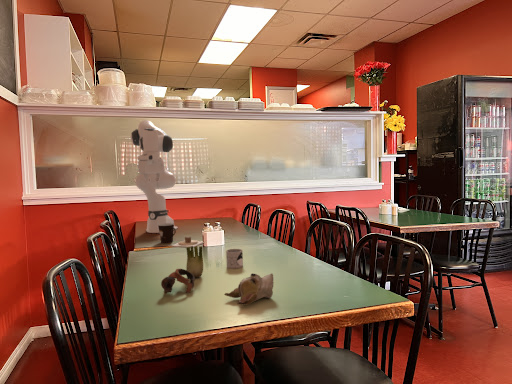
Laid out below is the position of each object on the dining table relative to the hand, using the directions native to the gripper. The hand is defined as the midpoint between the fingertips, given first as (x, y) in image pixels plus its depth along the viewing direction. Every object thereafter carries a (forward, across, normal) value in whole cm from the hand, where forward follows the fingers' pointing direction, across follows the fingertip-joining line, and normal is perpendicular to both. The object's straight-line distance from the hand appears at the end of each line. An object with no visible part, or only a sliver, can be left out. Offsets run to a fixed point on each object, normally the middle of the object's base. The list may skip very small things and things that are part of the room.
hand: (152, 181), depth 207 cm
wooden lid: (+34, +4, +23) cm, 41 cm away
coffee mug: (+34, +1, +8) cm, 35 cm away
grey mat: (+34, +4, +23) cm, 41 cm away
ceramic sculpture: (+35, +74, +84) cm, 117 cm away
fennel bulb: (+34, +57, +55) cm, 86 cm away
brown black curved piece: (+35, +72, +56) cm, 98 cm away
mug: (+34, +38, +64) cm, 82 cm away
